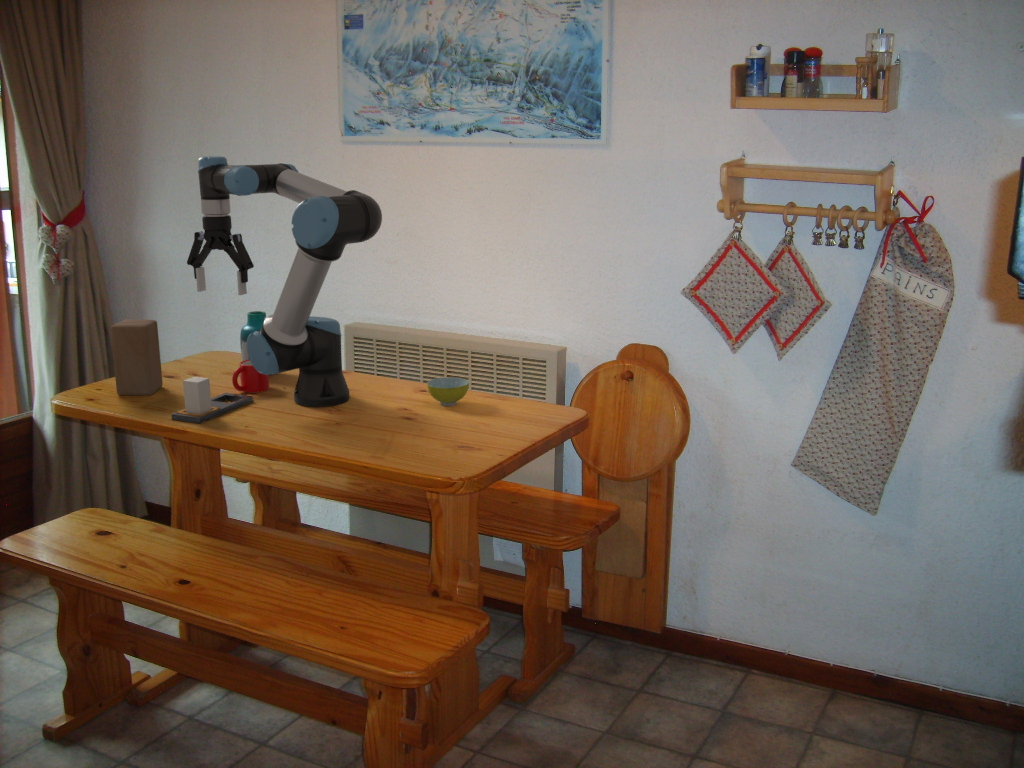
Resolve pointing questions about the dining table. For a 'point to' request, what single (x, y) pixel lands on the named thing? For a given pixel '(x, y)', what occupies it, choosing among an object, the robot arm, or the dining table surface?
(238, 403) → the grey slotted plate
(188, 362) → the dining table surface
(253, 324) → the vase
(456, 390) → the bowl
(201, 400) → the peg
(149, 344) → the block
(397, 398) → the dining table surface
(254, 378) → the mug
